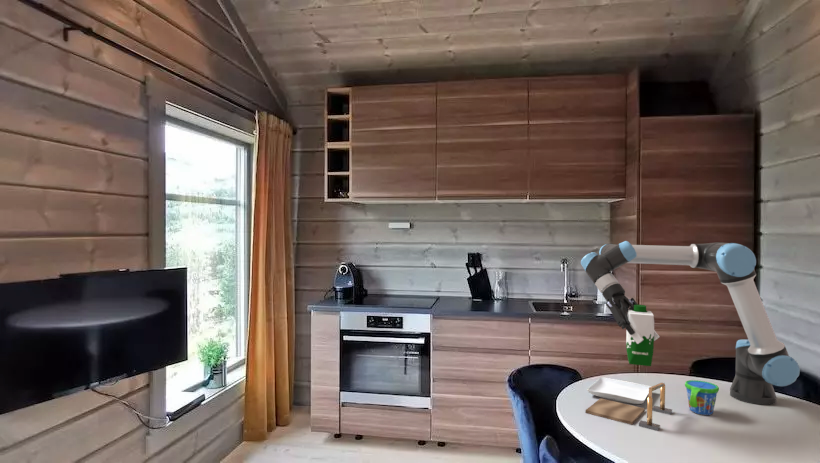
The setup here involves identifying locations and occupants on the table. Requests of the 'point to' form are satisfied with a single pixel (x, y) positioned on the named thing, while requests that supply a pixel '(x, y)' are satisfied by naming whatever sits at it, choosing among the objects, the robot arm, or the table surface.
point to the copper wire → (655, 407)
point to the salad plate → (619, 390)
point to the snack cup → (701, 396)
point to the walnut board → (615, 411)
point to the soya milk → (645, 327)
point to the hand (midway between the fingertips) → (648, 340)
